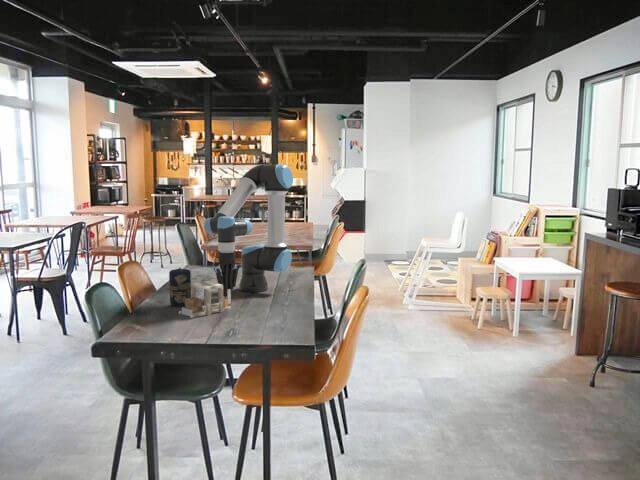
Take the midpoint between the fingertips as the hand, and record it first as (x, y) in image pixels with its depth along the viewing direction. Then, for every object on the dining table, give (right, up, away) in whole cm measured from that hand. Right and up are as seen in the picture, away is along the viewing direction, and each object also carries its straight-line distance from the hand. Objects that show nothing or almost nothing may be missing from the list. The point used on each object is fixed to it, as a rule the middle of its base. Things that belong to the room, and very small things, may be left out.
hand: (227, 303), depth 256 cm
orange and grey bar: (-8, -3, -8) cm, 11 cm away
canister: (-22, -2, +5) cm, 23 cm away
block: (-12, -2, -13) cm, 18 cm away
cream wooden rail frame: (-6, -3, -6) cm, 10 cm away
